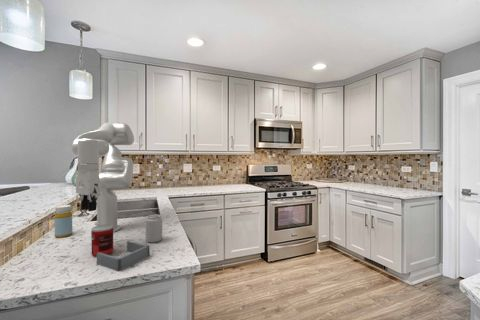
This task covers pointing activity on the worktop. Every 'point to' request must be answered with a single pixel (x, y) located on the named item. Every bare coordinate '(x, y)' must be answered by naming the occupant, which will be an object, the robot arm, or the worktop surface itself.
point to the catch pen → (116, 263)
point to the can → (153, 228)
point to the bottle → (63, 221)
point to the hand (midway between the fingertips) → (88, 209)
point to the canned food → (102, 239)
